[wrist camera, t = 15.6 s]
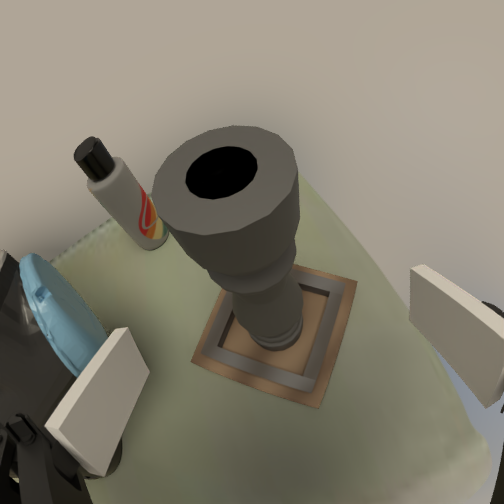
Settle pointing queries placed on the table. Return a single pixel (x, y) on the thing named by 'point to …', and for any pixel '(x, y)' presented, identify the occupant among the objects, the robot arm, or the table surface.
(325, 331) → the socket plate
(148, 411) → the table surface
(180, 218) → the candle holder
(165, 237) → the lotion bottle
